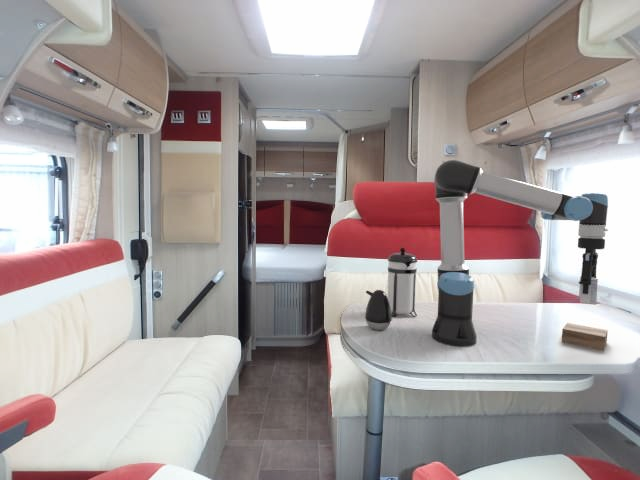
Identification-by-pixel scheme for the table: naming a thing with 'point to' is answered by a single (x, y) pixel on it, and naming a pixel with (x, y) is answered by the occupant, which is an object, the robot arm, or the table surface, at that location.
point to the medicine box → (593, 291)
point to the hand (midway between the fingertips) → (587, 300)
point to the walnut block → (584, 336)
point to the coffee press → (402, 283)
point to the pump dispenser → (378, 310)
